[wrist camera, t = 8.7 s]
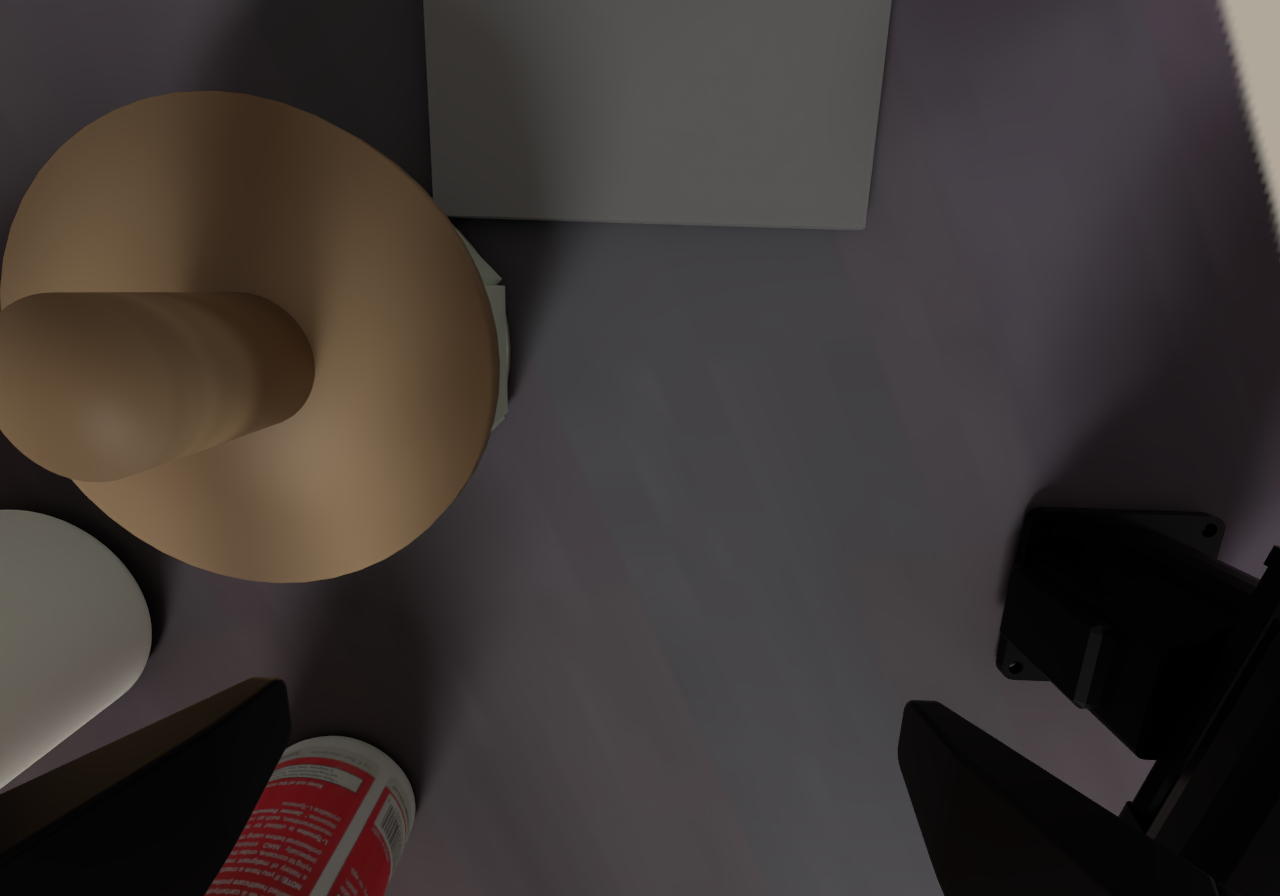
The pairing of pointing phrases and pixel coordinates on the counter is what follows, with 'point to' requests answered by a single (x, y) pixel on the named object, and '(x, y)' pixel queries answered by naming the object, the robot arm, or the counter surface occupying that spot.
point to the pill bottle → (323, 825)
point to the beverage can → (61, 634)
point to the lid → (245, 337)
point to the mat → (656, 110)
